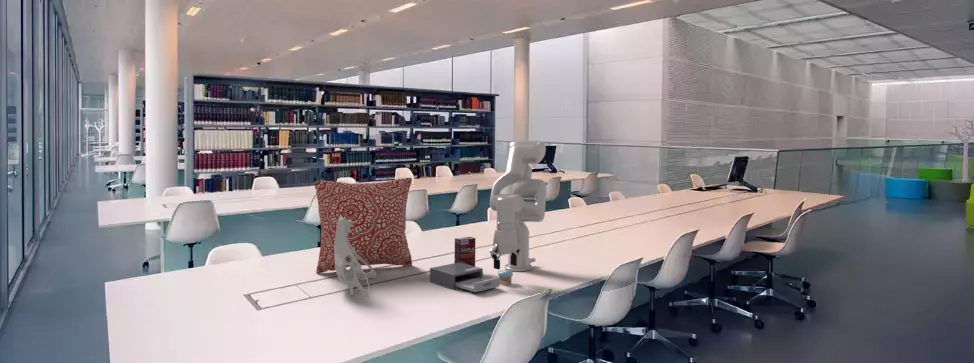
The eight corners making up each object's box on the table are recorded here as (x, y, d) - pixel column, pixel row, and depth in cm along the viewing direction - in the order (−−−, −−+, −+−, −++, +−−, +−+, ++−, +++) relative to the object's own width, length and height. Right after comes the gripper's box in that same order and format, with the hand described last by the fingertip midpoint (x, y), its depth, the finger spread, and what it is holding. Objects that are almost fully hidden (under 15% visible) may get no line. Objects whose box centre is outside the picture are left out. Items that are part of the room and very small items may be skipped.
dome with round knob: (505, 272, 247) (505, 269, 247) (515, 275, 243) (515, 271, 243) (495, 275, 243) (495, 271, 243) (505, 278, 239) (505, 274, 239)
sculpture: (381, 300, 219) (380, 222, 216) (333, 303, 215) (332, 223, 212) (377, 279, 250) (376, 210, 247) (335, 281, 246) (334, 211, 243)
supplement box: (459, 275, 257) (459, 240, 255) (454, 273, 260) (453, 238, 259) (476, 272, 262) (476, 237, 260) (469, 270, 265) (469, 236, 264)
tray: (475, 279, 246) (475, 270, 246) (499, 286, 235) (499, 277, 235) (451, 284, 237) (451, 276, 237) (475, 292, 226) (475, 283, 226)
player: (459, 275, 256) (459, 261, 256) (483, 282, 244) (483, 268, 244) (430, 282, 245) (429, 267, 245) (453, 289, 234) (453, 274, 233)
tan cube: (505, 282, 246) (505, 273, 245) (511, 283, 243) (511, 275, 243) (499, 283, 243) (499, 275, 243) (505, 285, 241) (505, 277, 240)
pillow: (318, 278, 251) (315, 181, 247) (314, 269, 266) (312, 178, 262) (416, 269, 267) (416, 178, 263) (408, 262, 282) (407, 176, 278)
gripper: (514, 223, 250) (513, 262, 251) (484, 227, 238) (483, 268, 239) (526, 225, 244) (526, 265, 245) (496, 229, 232) (496, 271, 234)
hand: (505, 267), depth 242 cm, fingers open, 9 cm apart
